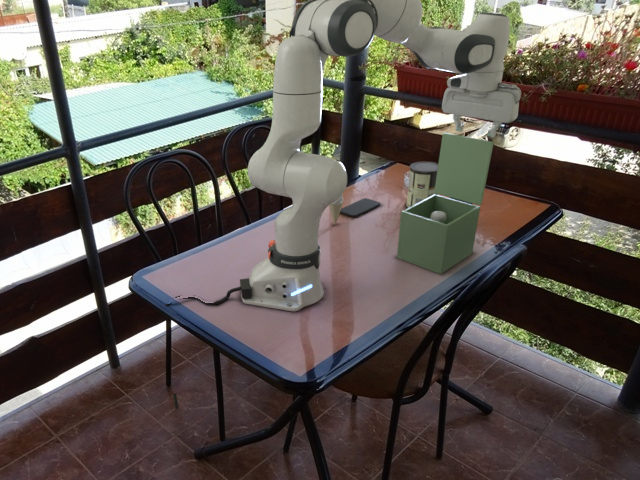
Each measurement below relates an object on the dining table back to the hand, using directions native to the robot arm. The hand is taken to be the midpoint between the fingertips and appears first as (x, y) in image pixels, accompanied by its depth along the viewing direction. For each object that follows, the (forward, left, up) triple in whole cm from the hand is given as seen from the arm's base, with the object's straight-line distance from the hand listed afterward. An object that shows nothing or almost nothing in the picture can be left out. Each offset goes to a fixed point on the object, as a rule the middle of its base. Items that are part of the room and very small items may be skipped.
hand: (474, 133), depth 153 cm
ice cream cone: (-38, +10, -33) cm, 51 cm away
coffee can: (-9, +27, -33) cm, 44 cm away
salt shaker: (-8, -10, -32) cm, 35 cm away
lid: (-3, -3, -9) cm, 10 cm away
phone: (-30, +23, -33) cm, 50 cm away
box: (-8, -10, -33) cm, 35 cm away
